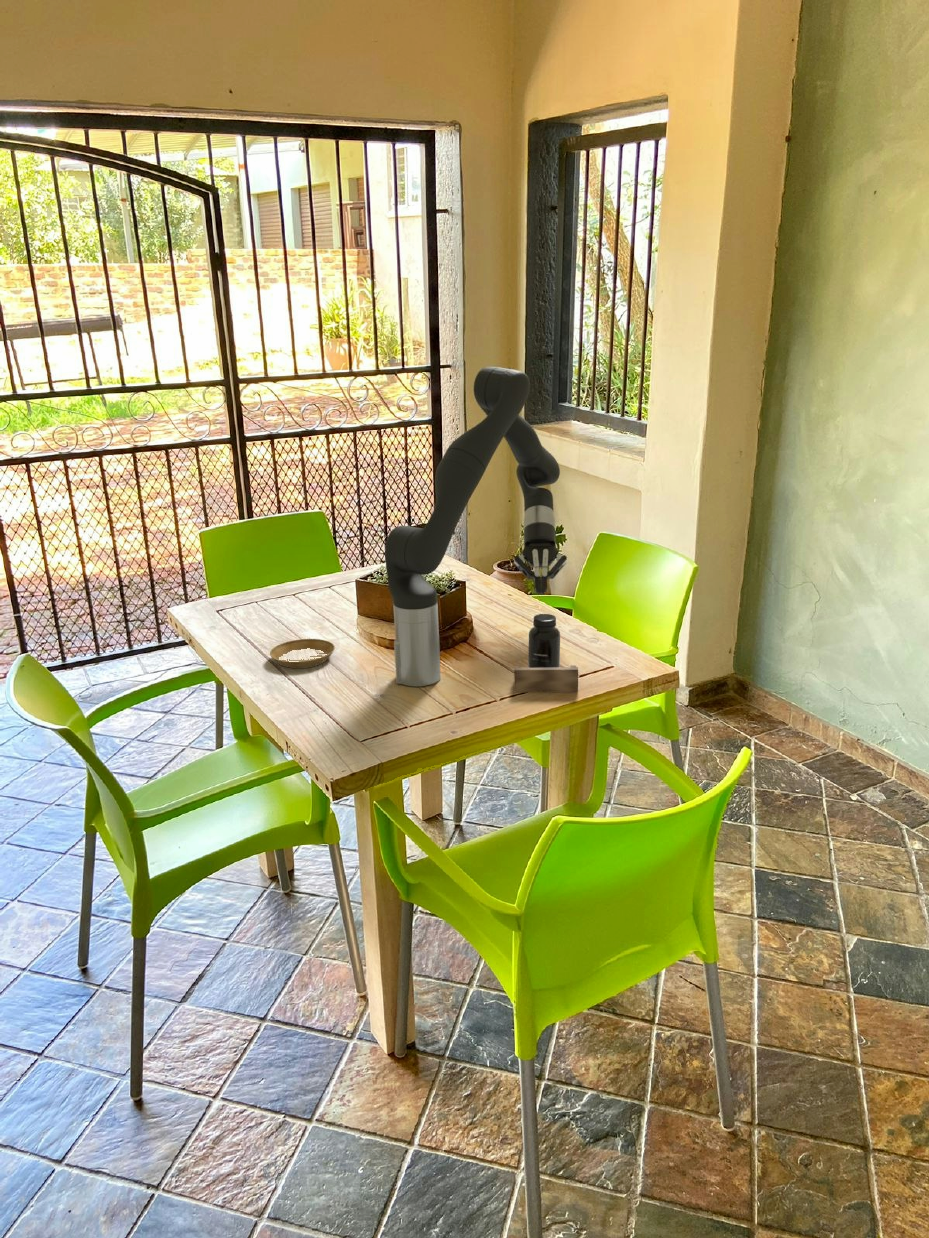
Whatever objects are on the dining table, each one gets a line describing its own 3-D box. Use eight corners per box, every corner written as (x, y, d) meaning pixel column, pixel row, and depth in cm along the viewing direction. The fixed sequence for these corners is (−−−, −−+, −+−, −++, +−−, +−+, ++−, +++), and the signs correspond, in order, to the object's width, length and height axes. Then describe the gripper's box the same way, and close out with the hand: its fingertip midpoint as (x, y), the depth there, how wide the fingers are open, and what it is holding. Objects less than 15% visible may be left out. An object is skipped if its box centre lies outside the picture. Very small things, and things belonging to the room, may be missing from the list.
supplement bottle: (534, 676, 192) (534, 623, 188) (524, 665, 198) (523, 614, 194) (564, 672, 194) (565, 620, 190) (553, 661, 200) (553, 610, 196)
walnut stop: (514, 692, 184) (514, 670, 183) (514, 681, 190) (514, 659, 188) (578, 691, 184) (578, 669, 182) (576, 680, 189) (576, 658, 187)
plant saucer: (257, 666, 203) (256, 655, 202) (297, 645, 215) (296, 634, 214) (309, 676, 196) (308, 665, 195) (348, 654, 209) (347, 643, 208)
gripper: (511, 521, 211) (512, 586, 204) (567, 520, 211) (570, 585, 203) (511, 537, 218) (512, 601, 211) (566, 536, 217) (569, 600, 210)
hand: (541, 593), depth 207 cm, fingers closed
